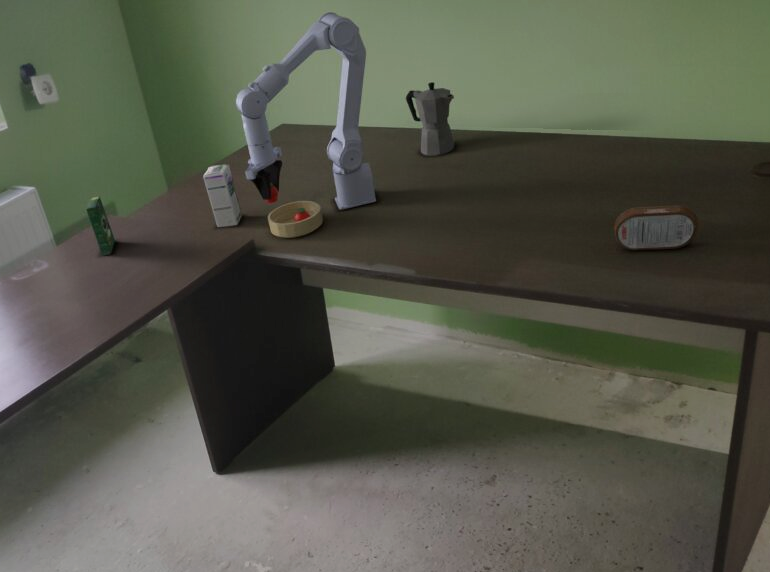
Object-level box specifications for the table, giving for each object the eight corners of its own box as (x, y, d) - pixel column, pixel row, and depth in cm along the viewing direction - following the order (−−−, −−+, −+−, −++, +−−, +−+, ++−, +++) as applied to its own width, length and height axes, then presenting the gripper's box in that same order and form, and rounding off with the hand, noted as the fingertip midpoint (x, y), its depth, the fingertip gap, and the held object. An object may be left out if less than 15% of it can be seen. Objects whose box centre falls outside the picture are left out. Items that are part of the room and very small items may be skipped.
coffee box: (105, 242, 233) (89, 197, 226) (115, 240, 233) (100, 194, 225) (101, 255, 227) (84, 209, 219) (111, 253, 227) (95, 206, 219)
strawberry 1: (273, 196, 216) (270, 180, 214) (282, 199, 214) (279, 183, 211) (261, 202, 215) (257, 186, 213) (270, 205, 212) (266, 189, 210)
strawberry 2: (310, 220, 215) (307, 205, 213) (312, 226, 212) (309, 211, 210) (295, 224, 215) (292, 209, 213) (297, 230, 212) (294, 214, 210)
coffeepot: (467, 145, 235) (462, 77, 224) (447, 158, 230) (441, 90, 220) (422, 140, 245) (415, 75, 234) (401, 153, 240) (393, 87, 230)
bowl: (319, 211, 221) (316, 196, 218) (326, 231, 210) (324, 216, 208) (268, 223, 221) (265, 208, 219) (273, 244, 210) (270, 229, 208)
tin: (695, 242, 170) (699, 202, 165) (696, 249, 168) (700, 209, 163) (613, 245, 176) (614, 207, 171) (613, 253, 174) (614, 214, 169)
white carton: (237, 225, 224) (224, 171, 216) (216, 228, 226) (202, 174, 217) (242, 215, 228) (229, 163, 220) (221, 218, 230) (207, 166, 222)
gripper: (259, 130, 212) (270, 182, 220) (229, 153, 203) (243, 207, 211) (284, 129, 209) (294, 182, 217) (255, 153, 199) (267, 208, 207)
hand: (271, 195), depth 213 cm, fingers closed on strawberry 1, 3 cm apart
